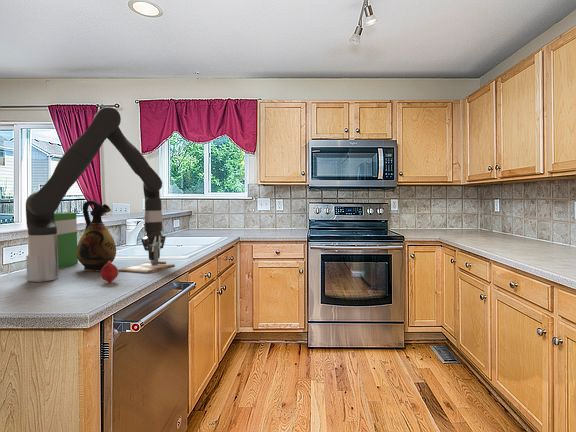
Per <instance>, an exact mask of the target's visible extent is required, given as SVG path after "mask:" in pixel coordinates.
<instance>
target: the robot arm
mask: <svg viewBox="0 0 576 432" xmlns="http://www.w3.org/2000/svg"><path fill="white" fill-rule="evenodd" d="M121 120H122V117H121V114H120V112H119V111H118V110H117V109H116V108H115V107H113V106H105V107H102V108H100V109H99V110H98V111H97V112H96V113H95V114H94V117H93V120H92V122H91V123H90V125H89V126H88V128H87V129H86V130H85V132H83V133H82V134H81V135H80V136H79V137H78V138H77V139H76V140H75V141H74V142H73V143H72V144H71V145H70V146H69V148H68V149H66V151H65V152H64V154H63V155H62V156H61V157H60V158H59V159H60V160H59V161H58V163H57V164H56V167H55V168H54V171H53V173H52V174H51V177H50V178H49V179H48V180H47V182H45V184H44V185H43V186H42V187H41V188H40V189H39V190H38V191H36V192H33V193H31V194H30V195H29V196H28V197H27V198H26V201H25V216H26V218H25V219H26V229H27V235H28V237H27V238H28V239H27V241H28V254H27V255H26V256H25V258H26V281H27V282H35V283H40V282H47V281H48V282H49V281H54V280H57V279H59V269H58V248H57V227H56V224H55V218H54V213H56V211H57V210H58V207H59V206H60V204H61V203H62V201H63V199H64V197H65V196H66V194H67V193H68V191H69V190H70V188H71V187H72V186H73V185H74V184H75V183H77V181H78V179H79V178H80V177H81V176H82V175H83V173H84V172H85V171H86V170H87V168H88V167H89V166H90V165H91V163H92V161H93V160H94V159H95V157H96V156H97V154H98V152H99V150H100V149H101V147H102V146H103V143H104V142H105V141H106V139H108V141H109V142H110V143H111V144H112V145H113V147H115V149H117V152H119V154H121V156H122V158H123V159H124V160H125V161H126V163H127V164H128V166H129V167H130V169H131V170H132V171H133V172H134V174H135V175H137V176H138V177H139V179H141V181H142V183H143V184H142V185H143V187H142V188H143V195H144V196H143V197H144V232H146V235H145V237H143V238H141V239H140V240H141V244H142V246H143V248H144V251H147V253H148V260H149V261H151V260H154V252H153V251H154V246H155V243H156V242H158V260H159V259H160V258H161V249H163V248H164V246H165V242H166V239H167V238H166V237H167V236H166V235H163V234H162V232H163V230H164V229H163V228H164V227H163V225H164V224H163V212H162V210H163V209H162V206H163V205H162V200H161V197H160V191H161V189H162V187H163V181H162V179H161V177H160V176H159V175H158V173H157V172H156V171H155V170H154V169H153V168H152V167H151V165H150V164H149V162H148V161H147V160H146V158H145V157H144V155H143V154H142V153H141V151H139V149H138V148H137V147H136V146H135V145H134V144H133V143H131V142H130V140H128V139H127V137H126V136H125V135H124V133H123V132H122V130H121V128H120V127H119V126H121V125H120V124H121ZM151 244H152V245H151Z"/></svg>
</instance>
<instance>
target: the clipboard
mask: <svg viewBox="0 0 576 432" xmlns="http://www.w3.org/2000/svg"><path fill="white" fill-rule="evenodd" d="M175 265H176V264H175V263H167V261H165V260H164V261H162V260H158V264H155V265H152V264H151V261H150V262H143V263H139V264H136V265H131V266H128V267H123V268H117V269H118V272H122V273H123V272H124V273H133V274H134V273H135V274H152V273H155V272H159V271H162V270H166V269H169V268H172V267H175Z"/></svg>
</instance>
